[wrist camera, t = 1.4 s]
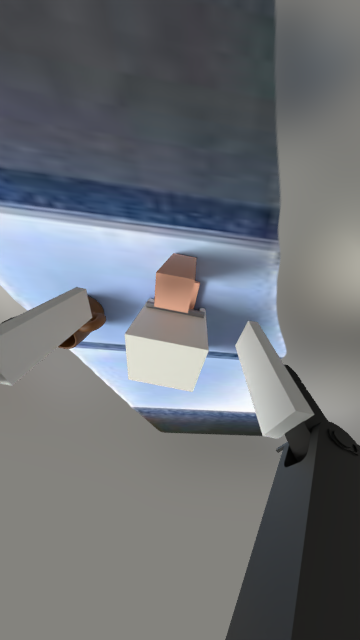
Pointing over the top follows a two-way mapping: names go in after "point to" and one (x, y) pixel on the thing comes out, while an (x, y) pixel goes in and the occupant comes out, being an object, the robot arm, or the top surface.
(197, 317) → the off-white block
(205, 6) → the top surface
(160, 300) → the orange l-shaped bracket
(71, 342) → the mug
